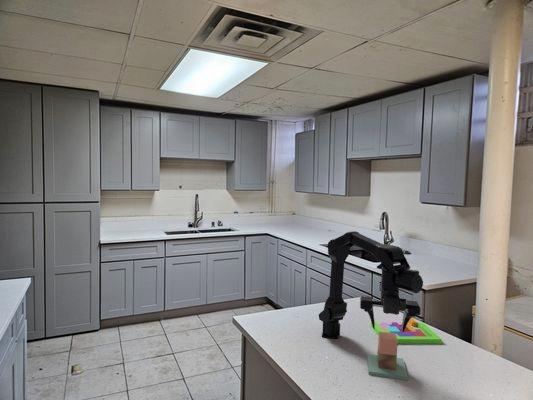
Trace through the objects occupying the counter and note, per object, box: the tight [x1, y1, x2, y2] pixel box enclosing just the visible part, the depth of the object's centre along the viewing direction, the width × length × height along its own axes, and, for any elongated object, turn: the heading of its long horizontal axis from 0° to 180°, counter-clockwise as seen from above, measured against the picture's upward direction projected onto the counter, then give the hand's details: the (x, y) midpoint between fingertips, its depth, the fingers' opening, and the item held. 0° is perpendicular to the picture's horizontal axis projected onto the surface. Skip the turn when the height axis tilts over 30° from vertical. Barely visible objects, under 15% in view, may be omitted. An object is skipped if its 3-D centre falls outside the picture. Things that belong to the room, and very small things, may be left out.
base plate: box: [366, 353, 409, 381], centre depth 121 cm, size 12×12×1 cm
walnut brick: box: [376, 348, 398, 370], centre depth 121 cm, size 6×6×5 cm
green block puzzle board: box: [370, 317, 443, 344], centre depth 152 cm, size 23×2×25 cm
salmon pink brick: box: [377, 332, 399, 356], centre depth 121 cm, size 6×6×5 cm
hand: (388, 330), depth 120 cm, fingers open, 9 cm apart
